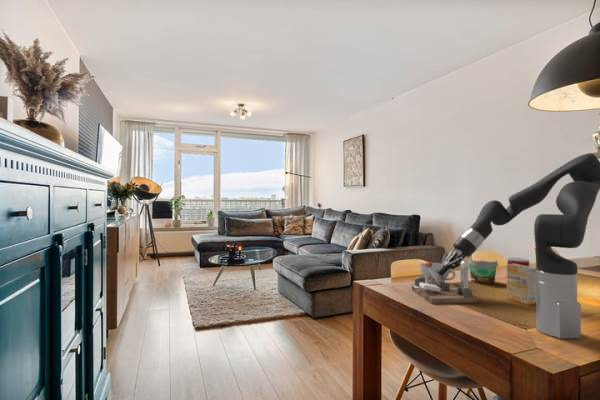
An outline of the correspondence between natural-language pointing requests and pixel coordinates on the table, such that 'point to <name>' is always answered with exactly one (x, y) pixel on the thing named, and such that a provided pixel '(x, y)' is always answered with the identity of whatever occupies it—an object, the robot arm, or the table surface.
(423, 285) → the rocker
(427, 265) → the red toggle
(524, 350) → the table surface
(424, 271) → the teacup
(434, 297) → the panel
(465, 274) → the grey metal bar
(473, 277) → the food container
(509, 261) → the canned food
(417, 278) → the button
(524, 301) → the supplement box
